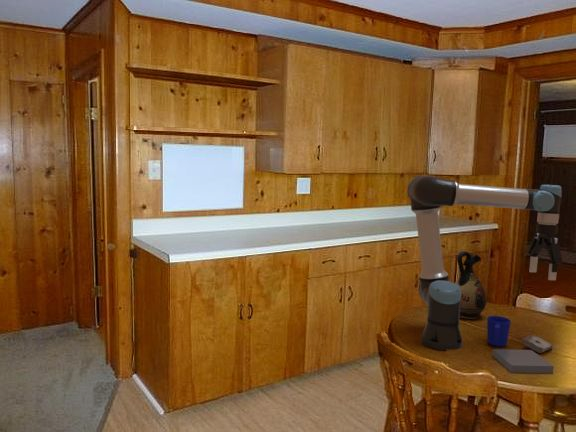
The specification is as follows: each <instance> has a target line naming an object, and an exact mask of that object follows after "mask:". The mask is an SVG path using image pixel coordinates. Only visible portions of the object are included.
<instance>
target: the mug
mask: <svg viewBox="0 0 576 432" xmlns="http://www.w3.org/2000/svg"><path fill="white" fill-rule="evenodd" d="M486 319H487V320H486V323H487V324H486V326H487V327H486V328H487V329H486V331H487V332H486V334H487V335H486V336H487V338H486V339H487V343H488V344H489V345H491V346H494V347H497V348H498V347H499V348H501V347H506V345H507V343H508V338H509V335H510V334H509V333H510V327H511V322H512V321H511V319H509V318H507V317H505V316H500V315H490V316H487V318H486Z"/></svg>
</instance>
